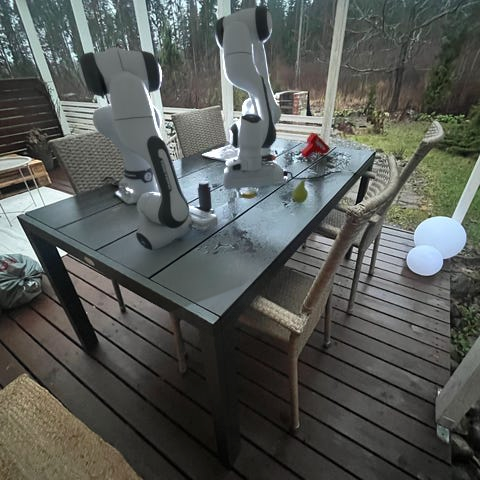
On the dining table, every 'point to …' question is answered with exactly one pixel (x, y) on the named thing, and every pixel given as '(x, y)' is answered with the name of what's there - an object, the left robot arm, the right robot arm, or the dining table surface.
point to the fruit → (300, 192)
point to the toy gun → (314, 146)
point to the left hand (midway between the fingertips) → (207, 208)
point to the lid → (248, 194)
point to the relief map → (223, 153)
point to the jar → (204, 196)
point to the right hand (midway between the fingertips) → (248, 196)
